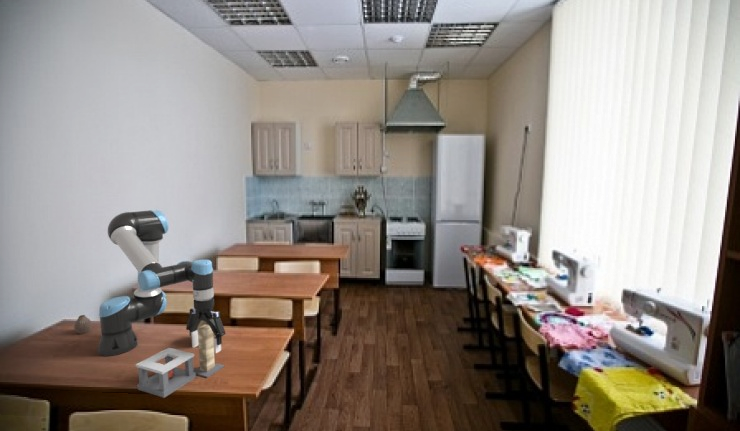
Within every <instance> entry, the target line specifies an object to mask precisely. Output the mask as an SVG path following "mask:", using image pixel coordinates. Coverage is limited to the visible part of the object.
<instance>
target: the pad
mask: <svg viewBox="0 0 740 431" xmlns="http://www.w3.org/2000/svg"><path fill="white" fill-rule="evenodd" d="M224 367H225V365H224V364H220V363H217V362H215V367H214V368H213V369H211V370H210V371H208V372H206V371H202V370H200V365H199V366H197V367H196V368H195V369H194V368H193V372H194V373H196V376H199V377H204V378H206V379H208V378H209V377H210V376H212V375H215V373H217V372H218V371H220V370H222V369H223V368H224Z"/></svg>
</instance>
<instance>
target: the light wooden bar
mask: <svg viewBox="0 0 740 431" xmlns="http://www.w3.org/2000/svg"><path fill="white" fill-rule="evenodd" d="M198 359H199V366H200V370H202V371H206V372H208V371H210V370H211V369H213V368H214V367H215V363H216V362H215V349H214V337H213V331H212V329H211V328H210V326H209V325H206V324H205V325H203V326H201V327H199V328H198Z"/></svg>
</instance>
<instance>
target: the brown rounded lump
mask: <svg viewBox="0 0 740 431" xmlns="http://www.w3.org/2000/svg"><path fill="white" fill-rule="evenodd" d="M73 324H74V325H73V329H74V331H75V333H77V334H79V335H80V334H81V335H82V334H86V333H88V332H89V331H90V330H91V328H92V322H91V320H90V318H88V317H87V316H86V315H85V314H82V315H79V316H78V318H77V319H76V321H75V322H74V323H73Z"/></svg>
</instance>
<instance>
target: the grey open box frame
mask: <svg viewBox="0 0 740 431" xmlns="http://www.w3.org/2000/svg"><path fill="white" fill-rule="evenodd" d="M195 356H196V355H195V353H194V352H193V353H192V352H188V351H184V350H181V349H177V348H171V347H167V348H165V349H163V350H161V351H159V352H157V353H155V354H154V355H151V356H149V357H147V358H145V359H143V360H142V361H140V362H138V363H135V368H137V369H138V382H139V383H137V385H136V387H137V390H138V391H142V392H145V393H147V394H151V395H155V396H157V397H160V398H163V399H165V398H166V397H168V396H169V395H171V394H172V393H175V392H176V391H177V390H179V389H180V388H182V387H183V386H186V385H187V384H188V383H189V382H192V381H193V380H194V379H196V376H197V375H196V373H194V372H193V370H194V357H195ZM162 359H164V364H163V363H160V362H159V361H161V360H162ZM183 363H184V369H183V368H179V367H178V366H180V365H182V364H183ZM171 369H173V374H174V375H173V376H172V377H171V378H169V380H168V371H169V370H171ZM148 371H149V372H153V373H155V374H153V375H151V376H150V377H149V376H148Z"/></svg>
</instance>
